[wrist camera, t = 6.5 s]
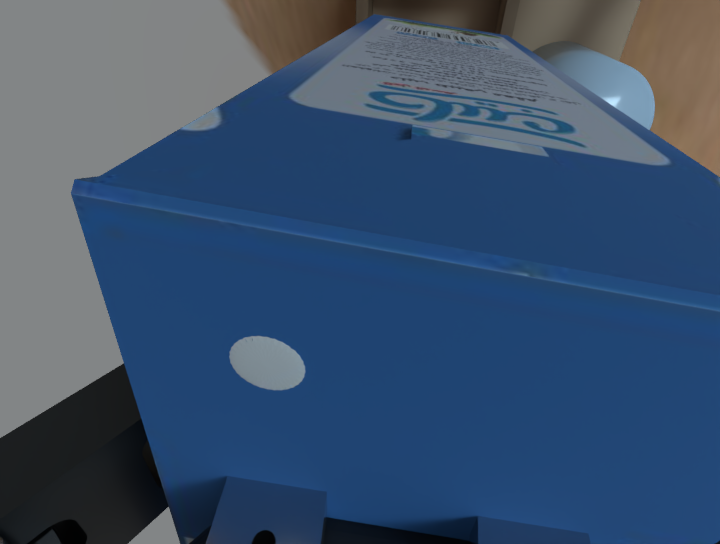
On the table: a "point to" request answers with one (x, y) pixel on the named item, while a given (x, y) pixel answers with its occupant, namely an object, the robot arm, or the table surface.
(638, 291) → the milk carton
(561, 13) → the caddy
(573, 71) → the pale blue rounded block
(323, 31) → the table surface
